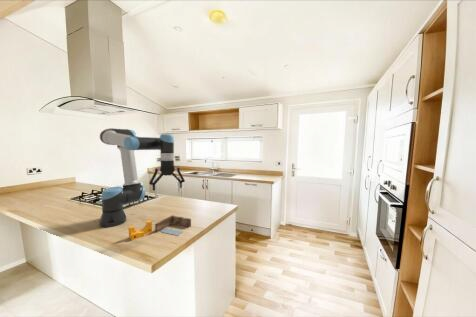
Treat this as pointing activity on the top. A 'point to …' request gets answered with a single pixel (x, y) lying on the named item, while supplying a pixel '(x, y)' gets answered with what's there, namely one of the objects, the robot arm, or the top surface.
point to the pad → (171, 231)
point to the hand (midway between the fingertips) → (167, 194)
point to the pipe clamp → (140, 231)
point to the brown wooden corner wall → (172, 222)
